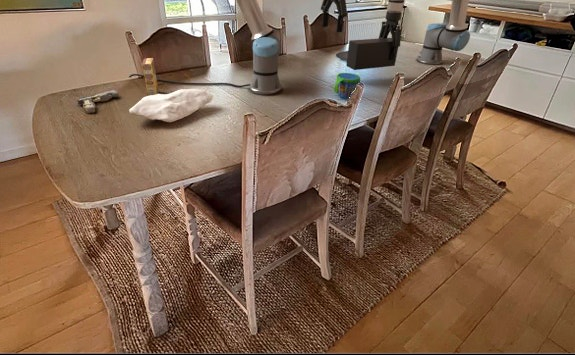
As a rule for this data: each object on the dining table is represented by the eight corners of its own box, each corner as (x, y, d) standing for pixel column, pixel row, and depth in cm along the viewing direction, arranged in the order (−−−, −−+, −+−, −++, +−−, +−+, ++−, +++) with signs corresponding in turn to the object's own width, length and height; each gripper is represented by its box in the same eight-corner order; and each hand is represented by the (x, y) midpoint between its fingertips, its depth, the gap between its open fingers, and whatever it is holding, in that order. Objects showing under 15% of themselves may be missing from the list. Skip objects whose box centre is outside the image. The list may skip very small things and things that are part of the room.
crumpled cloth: (117, 110, 146) (113, 90, 140) (195, 92, 166) (194, 73, 160) (143, 139, 134) (140, 118, 128) (223, 116, 154) (224, 96, 148)
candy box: (157, 97, 164) (152, 63, 155) (147, 98, 163) (141, 63, 155) (158, 91, 171) (153, 57, 163) (149, 91, 170) (143, 58, 162)
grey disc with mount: (401, 60, 233) (403, 45, 228) (362, 67, 215) (363, 51, 211) (362, 51, 258) (364, 38, 253) (324, 57, 240) (325, 42, 236)
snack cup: (350, 91, 181) (353, 70, 175) (365, 97, 173) (368, 76, 168) (326, 96, 173) (328, 75, 168) (340, 103, 166) (343, 81, 160)
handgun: (128, 97, 156) (111, 87, 164) (86, 107, 144) (70, 97, 152) (129, 103, 157) (113, 94, 165) (88, 114, 146) (72, 103, 154)
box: (354, 70, 185) (357, 43, 178) (346, 66, 191) (349, 40, 184) (394, 65, 195) (399, 40, 188) (385, 62, 201) (390, 37, 194)
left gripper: (359, -19, 154) (352, 34, 166) (329, -24, 173) (325, 24, 185) (344, -19, 152) (338, 35, 163) (315, -24, 171) (312, 24, 182)
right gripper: (414, 14, 176) (404, 62, 188) (387, 8, 191) (380, 52, 204) (401, 15, 173) (392, 63, 185) (375, 8, 189) (369, 53, 201)
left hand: (331, 29), depth 174 cm, fingers open, 13 cm apart
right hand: (386, 57), depth 194 cm, fingers closed on box, 8 cm apart
